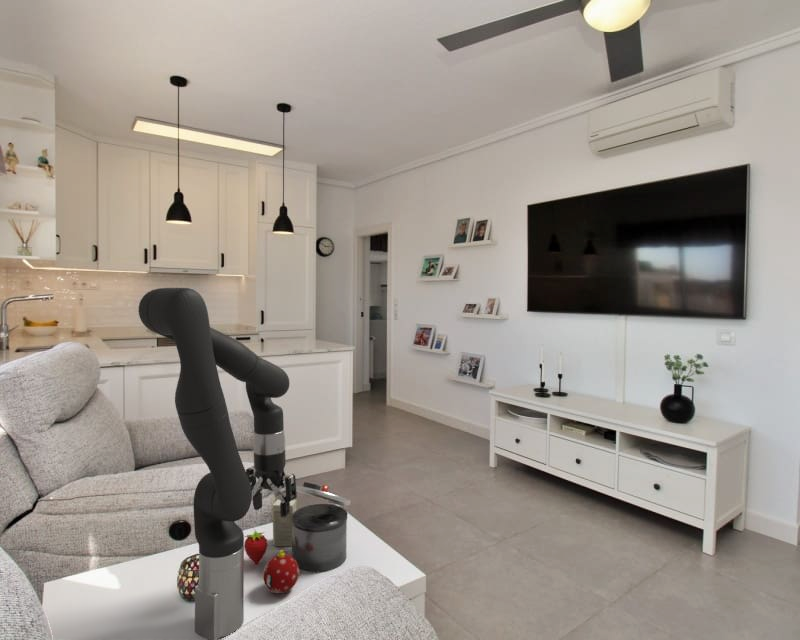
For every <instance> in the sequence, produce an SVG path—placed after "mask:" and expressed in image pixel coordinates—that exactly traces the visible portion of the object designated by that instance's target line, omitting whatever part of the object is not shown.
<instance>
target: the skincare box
mask: <svg viewBox="0 0 800 640" xmlns="http://www.w3.org/2000/svg"><path fill="white" fill-rule="evenodd" d="M280 503H281V501H280V499H276V500H275V501H274V502H273V504H272V507H271V508H272V541H273V542H272V543H273V544H272V545H273V547H274V546H277V547H292V521H291V517H292V514H293V513H294V512H295V511H296V510H298V504H297V503H298V500H297V499H293V500H292V501H290V512H289V514H288V515H287V516H286V517H284V518H283V517H281V513H280Z"/></svg>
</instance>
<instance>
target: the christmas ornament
mask: <svg viewBox="0 0 800 640" xmlns="http://www.w3.org/2000/svg"><path fill="white" fill-rule="evenodd" d="M299 574H300V569H299V567H298V564H297V562H296V560H295V559H294V558H293V557H292V555H290V554H288V553H285V550H284V549H283V550H282V549H280V550H279V551H278V554H276V555H275V556H273V557H271V558H270V559H269V560H268V561H267V562H266V564H265V566H264V569H263V573H262V577H263V579H262V580H263V583H264V585H265V587H266V588H267V590H269V591H270V592H272V593H274V594H283V593H286V592H287V593H288V592H289V591H290V590H291V589H293V587H294V586H295V585H296V583H297V581H298V579H299V576H300V575H299Z"/></svg>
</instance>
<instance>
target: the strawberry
mask: <svg viewBox="0 0 800 640" xmlns="http://www.w3.org/2000/svg"><path fill="white" fill-rule="evenodd" d="M253 530H254V532H253V534H247V535H244V538H246V539H244V552H245V553H246V554H245V555H247V557H248V558H249V559H250V561H252V562H253V564H254V565H255V566H256V565H258V564H260V561H261V560H262V559H263V558H264V556H265V555H266V553H267V549H268V539H267V538H266V537H265V535H264V533H265V532H264V531H263V532H257V531H256V529H255V528H253Z"/></svg>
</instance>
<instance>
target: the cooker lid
mask: <svg viewBox="0 0 800 640" xmlns="http://www.w3.org/2000/svg"><path fill="white" fill-rule="evenodd" d="M329 489H330V488H329V486H327V485H321V486H320V485H318V484H315V483H311V482H306V481H304V482H303V485H296V492H297V493H300V494H303V495H306V496H309V497H312V498H316V499H317V500H318V499H320V500H322V501H327V502H328V503H329V504H334V505H338V506H339V505H340V506H343V507H344V506H350V505H351V499H348V498H346V497H343V496H340V495H337V494H333V493H330V492H329Z"/></svg>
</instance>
